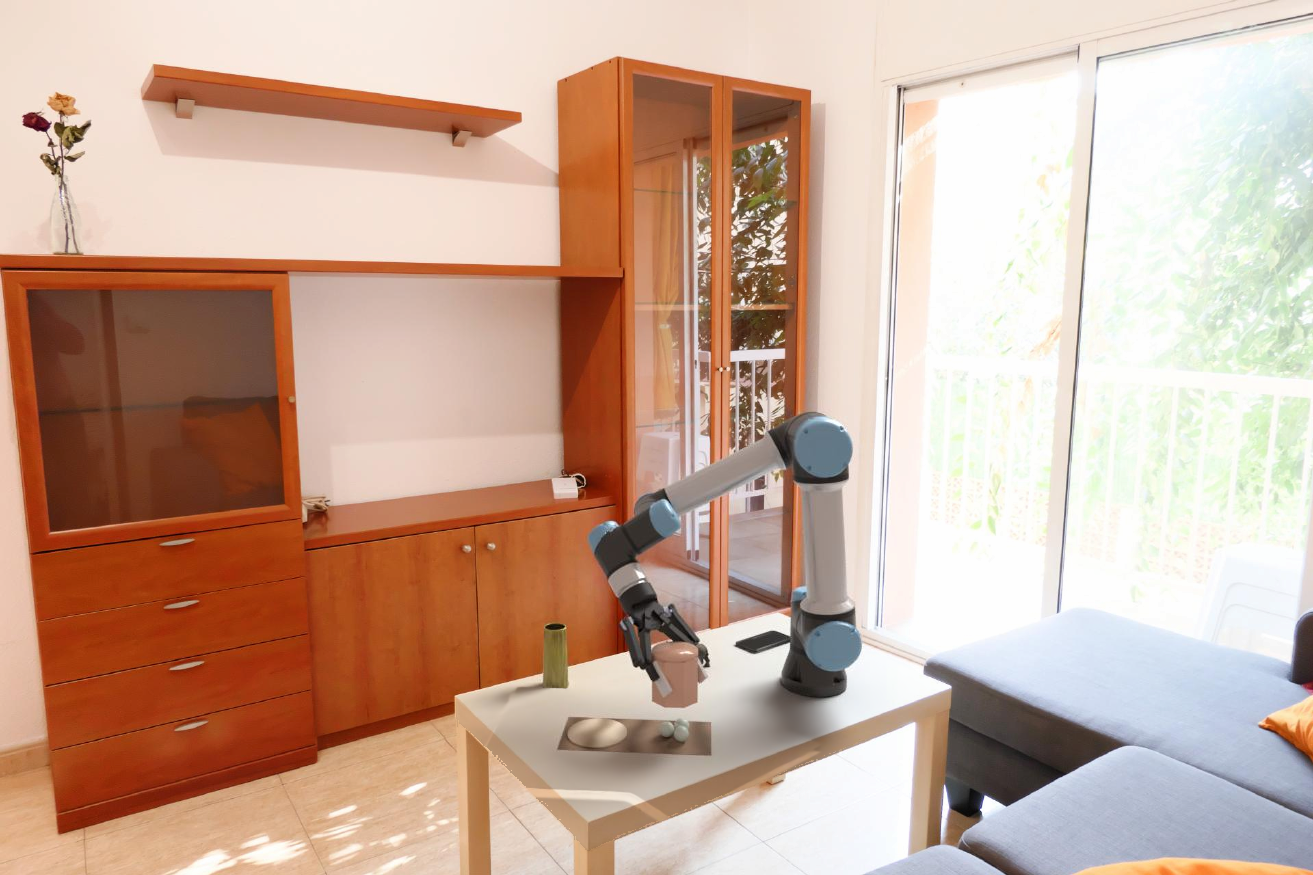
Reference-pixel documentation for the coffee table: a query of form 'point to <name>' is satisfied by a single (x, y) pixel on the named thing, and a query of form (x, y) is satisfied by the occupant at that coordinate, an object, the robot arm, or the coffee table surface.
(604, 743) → the coaster
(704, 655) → the rhino figurine
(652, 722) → the board
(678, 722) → the marble
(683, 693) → the domed lid canister
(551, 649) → the vase
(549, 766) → the coffee table surface
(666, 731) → the marble
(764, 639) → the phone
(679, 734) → the marble
